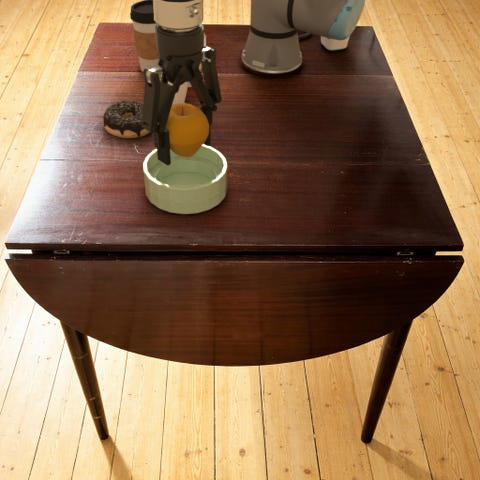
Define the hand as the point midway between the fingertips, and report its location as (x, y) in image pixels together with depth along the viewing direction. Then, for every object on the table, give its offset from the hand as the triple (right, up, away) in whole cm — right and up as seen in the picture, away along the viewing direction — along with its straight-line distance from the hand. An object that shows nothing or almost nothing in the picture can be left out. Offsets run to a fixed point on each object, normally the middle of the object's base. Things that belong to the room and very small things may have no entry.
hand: (184, 151), depth 110 cm
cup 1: (-6, +19, +29) cm, 36 cm away
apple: (0, 0, 0) cm, 0 cm away
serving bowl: (0, -6, +6) cm, 9 cm away
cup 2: (+35, +42, +53) cm, 76 cm away
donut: (-14, +11, +22) cm, 28 cm away
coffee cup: (-12, +32, +41) cm, 53 cm away
